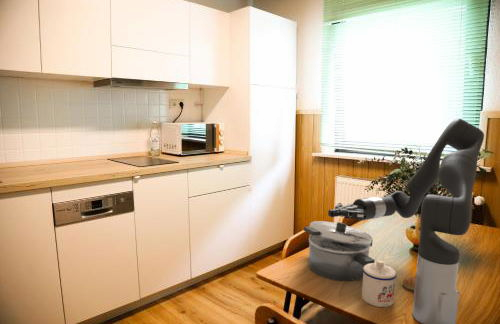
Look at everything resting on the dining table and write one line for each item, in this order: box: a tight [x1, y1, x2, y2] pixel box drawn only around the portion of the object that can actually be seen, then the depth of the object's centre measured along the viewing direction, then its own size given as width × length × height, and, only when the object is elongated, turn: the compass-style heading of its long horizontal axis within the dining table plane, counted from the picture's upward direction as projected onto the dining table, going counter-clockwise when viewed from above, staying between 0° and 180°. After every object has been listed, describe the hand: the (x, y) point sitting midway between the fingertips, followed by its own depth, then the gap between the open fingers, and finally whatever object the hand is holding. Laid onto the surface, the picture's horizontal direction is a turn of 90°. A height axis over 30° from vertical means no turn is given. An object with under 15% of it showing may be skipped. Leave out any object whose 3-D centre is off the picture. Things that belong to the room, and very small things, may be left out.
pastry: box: [402, 277, 416, 292], centre depth 105 cm, size 9×7×4 cm
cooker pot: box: [308, 234, 376, 282], centre depth 118 cm, size 31×23×10 cm
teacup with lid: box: [361, 260, 397, 308], centre depth 98 cm, size 12×9×12 cm
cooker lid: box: [303, 220, 373, 246], centre depth 116 cm, size 21×24×4 cm
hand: (329, 213), depth 114 cm, fingers closed
